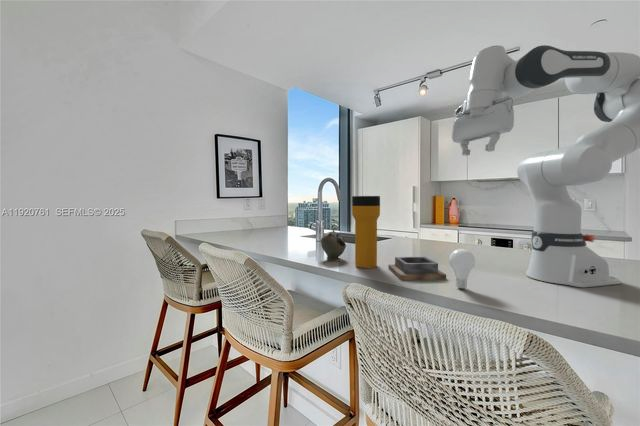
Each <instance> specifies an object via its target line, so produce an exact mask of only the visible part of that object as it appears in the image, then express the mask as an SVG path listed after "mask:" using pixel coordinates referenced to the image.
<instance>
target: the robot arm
mask: <svg viewBox="0 0 640 426" xmlns="http://www.w3.org/2000/svg"><path fill="white" fill-rule="evenodd" d="M561 79H564V83H565V86H566V89H567V90H568V91H569V92H570V93H572V94H576V95H577V94H578V95H591V94H592V95H593V94H596V96H595V99H594V104H593V111H594V112H593V113H594V115H595V116H596V117H597V118H598V120H600V121H601V122H605V123H604V124H603V125H600V126H598V127H596V128H594V129H593V130H590V131H588V132H585V133H584V134H582V135H581V136H579V137H578V138H577V140H576V141H575V143H574V144H571V145H568V146H565V147H562V148H561V147H560V148H556V149H549V150H545V151H539V152H535V153H533V154H530V155H529V156H527V157H525V158H522V160H521V161H520V162H519V163H518V166H517V169H516V174H517V178H518V179H519V180H520V182H522V183H523V184H524V185H525V187H526V188H527V191H528V192H529V194H530V197H531V200H532V205H533V230H532V231H531V246H532V250H531V255H530V260H529V264H528V268H527V269H526V272H525V275H526V276H527V277H529V278H531V279H535V280H537V281H542V282H546V283H551V284H553V283H554V284H561V285H566V286H570V287H571V286H572V287H575V288H576V287H577V288H591V287H600V286H610V285H611V286H612V285H620V284H621V280H620V279H619V278H617V277H614V276H611V275H610V270H609V269H610V268H609V263H608V261H607V260H606V259H605V258H603V257H602V256H601V255H599V254H598V253H596V252H595V251H594V250H592V249H591V248H589V247H588V246H587V243H586V242H589V243H593V242H594V241H595V240H596V236H595V235H593V234H583V233H582V232H581V231H582V229H581V228H582V212H583V211H582V210H583V209H582V207H581V205H580V203H578V201H576V200H574V199H573V198H572V197H571V196H570V193H569V191H568V189H567V187H569V186H572V187H573V186H583V185H588V184H591V183H595V182H599V181H602V180H603V179H605V178H606V177H607V176H608V175H609V173H610V172H611V169H612V168H613V167H612V165H613V163H614V162H616V161H618V160H620V159H621V158H624V157H625V156H628V155H630V154H632V153H634V152H635V151H637V150H638V149H640V56H639V55H637V54H634V53H631V52H630V53H629V52H623V51H622V52H621V51H620V52H618V51H616V52H615V51H612V52H610V51H609V52H603V51H596V50H595V51H591V50H590V51H589V50H588V51H587V50H584V51H583V50H566V49H565V50H564V49H560V48H559V47H555V46H551V45H546V44H544V45H538V46H536V47H535V46H534V47H533V48H532V49H530V50H529V51H528V52H527V53H526V54H524V55H523V56H522V57H520V58H519V59H517V60H514V59H513V58H511V56H509V54H508V53H507V51H506V49H505V47H504V46H503V45H492V46H488V47H486V48H483V49H482V50H480V51H478V52H477V54H475V56H474V57H473V61H472V63H471V68H470V73H469V81H468V83H469V90H468V93H467V97H466V100H464V101H463V103H462V104H461V105H460V106H459V107H458V108H457V109H455V111H454V113H453V115H454V116H453V117H454V119H455V120H454V121H453V126H452V132H451V140H452V143H457V144H460V148H461V155H462V156H464V157H467V156H470V154H471V149H469V145H470V142H473V141H476V140H481V139H485V138H489V141H488V143H486V144H485V147H484V148H485V149H484V150H485V152H494V151H495V148H496V145H497V143H498V141H499V140H500V138H501V135H502V134H506V133H510V132H511V131H512V129H513V128H514V124H515V111H514V110H515V109H514V100H517V99H519V98H522V97H524V96H525V95H528V94H530V93H533V92H534V91H536V90H538V89H541V88H543V87H546V86H548V85H551V84H553V83H555V82H557V81H558V80H561Z"/></svg>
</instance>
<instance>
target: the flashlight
mask: <svg viewBox="0 0 640 426" xmlns="http://www.w3.org/2000/svg"><path fill="white" fill-rule="evenodd" d="M351 215H352V218H353V219H354V222H355V224H354V229H355V230H354V233H355V235H354V237H355V239H354V243H355V244H354V246H355V247H354V248H355V249H354V250H355V251H354V252H355V255H354V256H355V259H354V261H355V263H354V264H355V267H358V268H363V269H373V268H375V267H377V266H378V220H379V217H380V215H381V196H380V195H368V194H364V195H353V196H352V197H351Z"/></svg>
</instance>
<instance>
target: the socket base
mask: <svg viewBox="0 0 640 426" xmlns="http://www.w3.org/2000/svg"><path fill="white" fill-rule="evenodd" d="M388 270H389V271H390V272H391V273H392V274H393V275H395V277H396V278H398V279H399V280H400V281H422V280H423V281H426V280H427V281H428V280H432V281H434V280H435V281H436V280H437V281H438V280H440V281H441V280H447V274H446V273H444V272H443V271H441V270H439V263H438V262H436V261H434V260H432V259H430V258H428V257H427V256H395V257H394V264H388Z"/></svg>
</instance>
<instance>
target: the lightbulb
mask: <svg viewBox="0 0 640 426" xmlns="http://www.w3.org/2000/svg"><path fill="white" fill-rule="evenodd" d="M475 264H476V259H475V256H474V253H472V252H471V251H470V250H468V249H465V248H457V249H455V250H453V251H452V252H451V254H450V255H449V266H450V267H451V268H452V270H453V273H454V275H455V278H456V279H455V282H456V284H455V286H456V287H457V288H458V289H460V290H464V289H466V288H467V287H468V278H469V276H470V273H471V271H472V270H473V268H474V267H475Z"/></svg>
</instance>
